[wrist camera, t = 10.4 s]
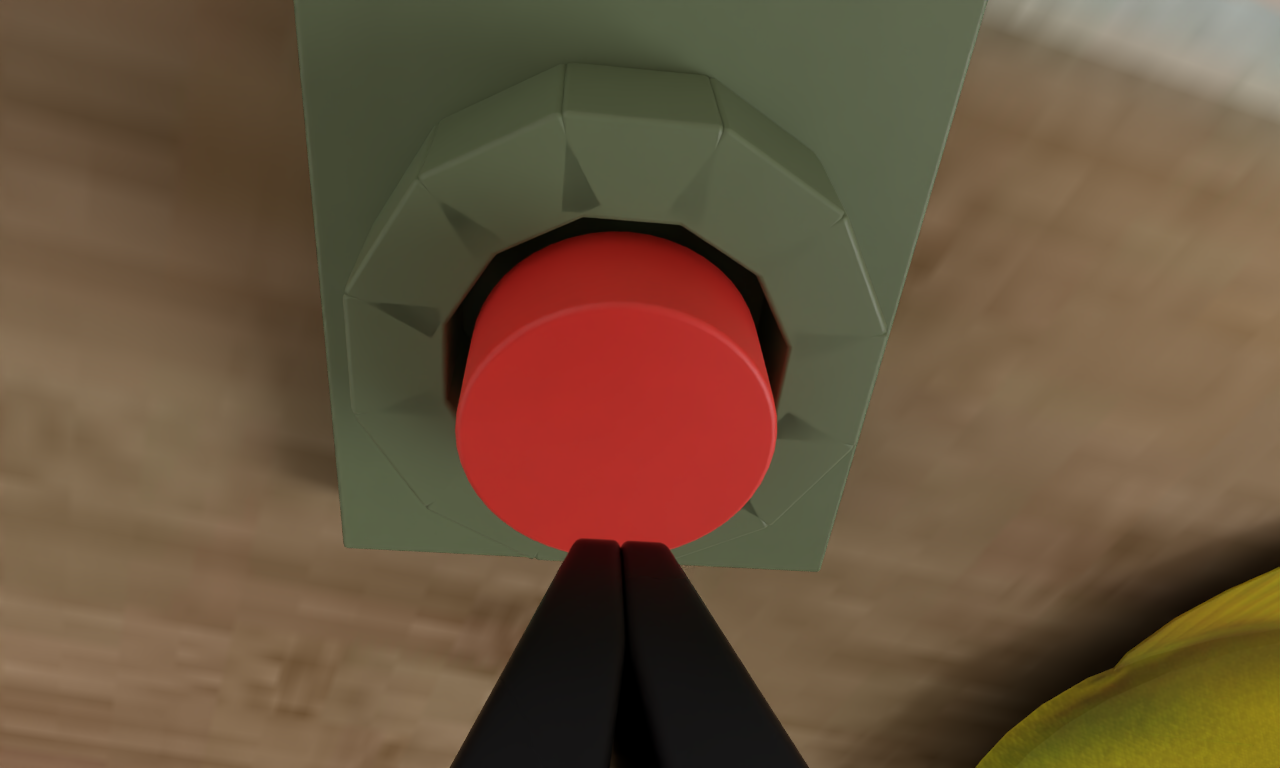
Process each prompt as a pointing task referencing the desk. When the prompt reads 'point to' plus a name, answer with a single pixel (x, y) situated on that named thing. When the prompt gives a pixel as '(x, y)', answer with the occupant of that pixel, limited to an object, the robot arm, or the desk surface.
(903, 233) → the button block
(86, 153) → the desk surface
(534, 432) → the button
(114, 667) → the desk surface
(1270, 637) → the fish
